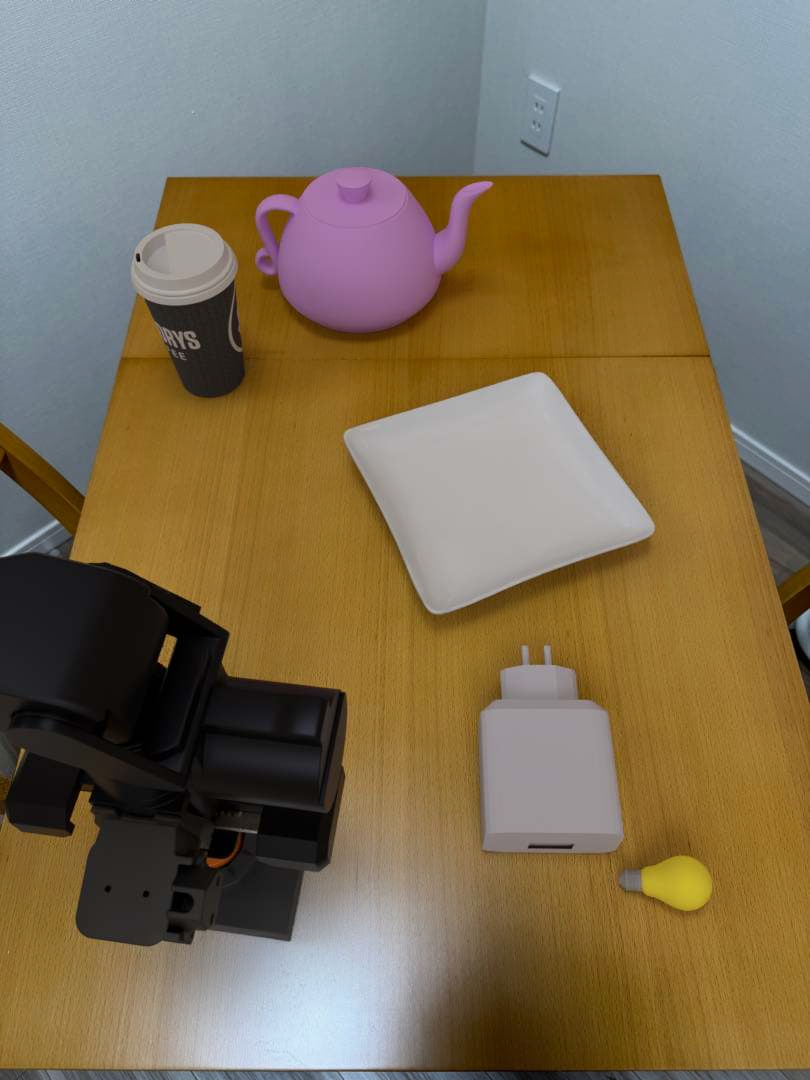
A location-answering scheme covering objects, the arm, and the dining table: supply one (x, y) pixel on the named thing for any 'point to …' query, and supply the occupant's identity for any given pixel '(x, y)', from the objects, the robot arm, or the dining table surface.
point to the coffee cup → (193, 304)
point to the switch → (226, 862)
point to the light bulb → (672, 882)
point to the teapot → (360, 249)
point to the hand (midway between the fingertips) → (208, 834)
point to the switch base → (257, 896)
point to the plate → (494, 490)
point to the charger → (547, 766)
